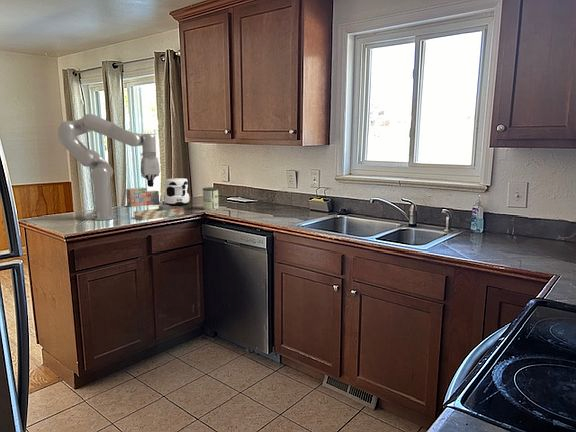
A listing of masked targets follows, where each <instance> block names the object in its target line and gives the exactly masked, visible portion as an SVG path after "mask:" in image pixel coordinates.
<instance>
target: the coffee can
mask: <svg viewBox="0 0 576 432" xmlns="http://www.w3.org/2000/svg"><path fill="white" fill-rule="evenodd" d="M202 203H203V205H202V206H203V210H204V211H217V210H216V209H218V210H219V209H220V207H219V205H220V204H219V188H218V187H216V186H215V187H213V186H211V187H203V188H202Z"/></svg>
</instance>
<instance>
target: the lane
mask: <svg viewBox="0 0 576 432" xmlns="http://www.w3.org/2000/svg"><path fill="white" fill-rule="evenodd" d="M182 215H185V208H184V207H180V206H178V205H173V206H170V210H163V211H159V207H158V208H151V209H143V210H134V211H133V216H134V219H136V220H139V221H148V220H153V219H155V220H156V219H161V218H166V217H174V216H182Z"/></svg>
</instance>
